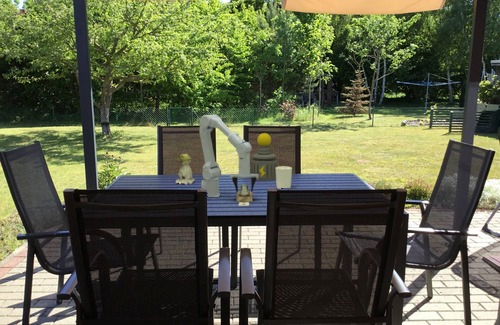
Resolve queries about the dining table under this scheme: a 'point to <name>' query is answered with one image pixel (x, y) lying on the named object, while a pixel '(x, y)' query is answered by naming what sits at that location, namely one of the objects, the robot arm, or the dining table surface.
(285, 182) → the candle holder
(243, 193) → the pin
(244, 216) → the dining table surface
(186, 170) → the cream figurine
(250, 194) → the tan frame
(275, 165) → the decorative lamp
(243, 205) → the key card
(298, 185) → the dining table surface
